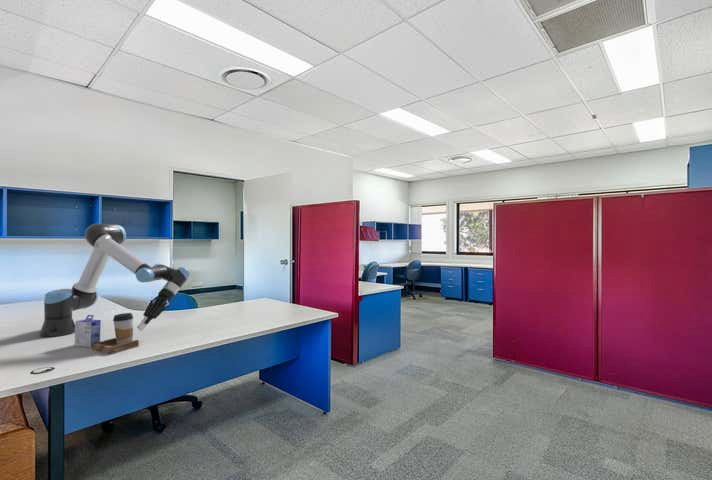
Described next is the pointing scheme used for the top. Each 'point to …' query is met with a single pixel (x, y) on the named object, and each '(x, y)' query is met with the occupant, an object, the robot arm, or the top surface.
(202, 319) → the top surface
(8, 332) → the top surface
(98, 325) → the ink cartridge box
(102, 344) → the walnut bay
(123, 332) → the coffee cup
